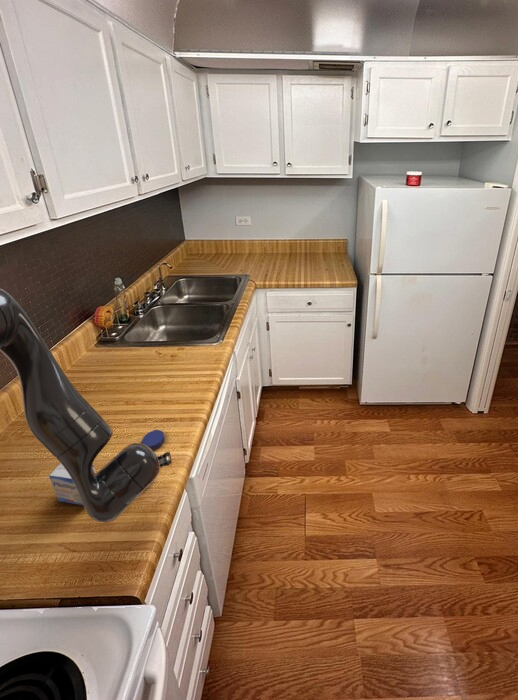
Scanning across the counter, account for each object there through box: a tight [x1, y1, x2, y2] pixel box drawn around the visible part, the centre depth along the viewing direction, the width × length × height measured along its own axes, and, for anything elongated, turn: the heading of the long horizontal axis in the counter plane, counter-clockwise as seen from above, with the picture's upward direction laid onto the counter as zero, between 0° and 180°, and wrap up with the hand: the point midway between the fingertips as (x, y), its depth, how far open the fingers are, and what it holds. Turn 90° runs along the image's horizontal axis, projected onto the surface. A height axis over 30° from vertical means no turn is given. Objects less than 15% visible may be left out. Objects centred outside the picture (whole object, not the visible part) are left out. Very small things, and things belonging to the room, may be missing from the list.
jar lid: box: [141, 429, 166, 451], centre depth 94 cm, size 6×6×2 cm
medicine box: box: [48, 463, 97, 506], centre depth 78 cm, size 8×4×9 cm, turn 82°
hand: (138, 470), depth 78 cm, fingers open, 8 cm apart
